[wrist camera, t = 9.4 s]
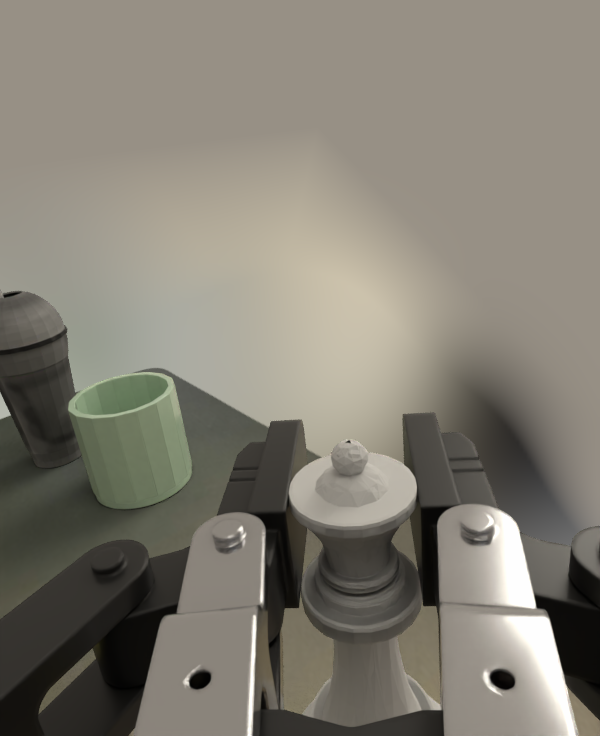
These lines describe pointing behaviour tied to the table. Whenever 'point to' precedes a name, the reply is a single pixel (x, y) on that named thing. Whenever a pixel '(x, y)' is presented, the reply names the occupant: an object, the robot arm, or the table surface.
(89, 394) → the glazed cup
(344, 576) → the chess piece
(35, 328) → the beverage cup
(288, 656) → the table surface
